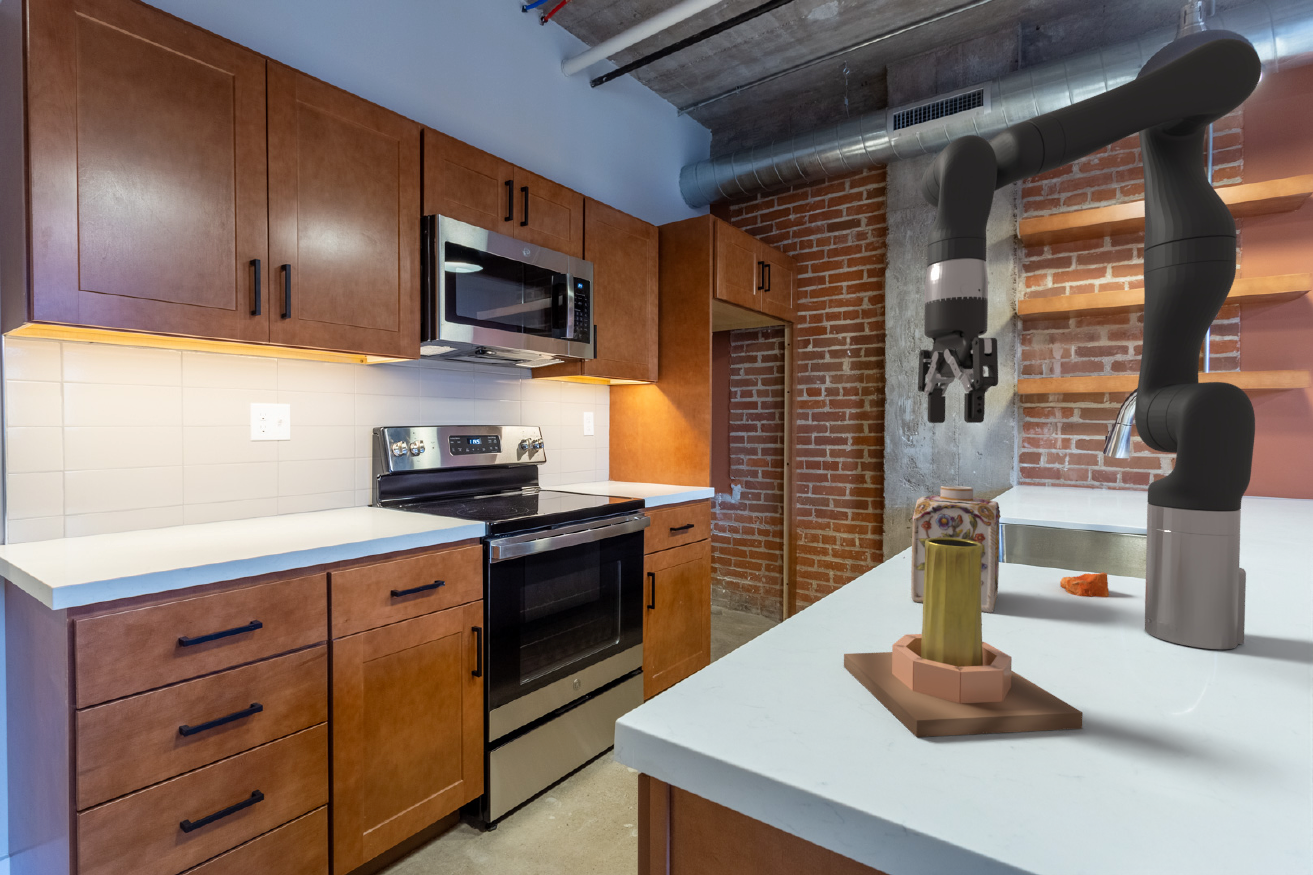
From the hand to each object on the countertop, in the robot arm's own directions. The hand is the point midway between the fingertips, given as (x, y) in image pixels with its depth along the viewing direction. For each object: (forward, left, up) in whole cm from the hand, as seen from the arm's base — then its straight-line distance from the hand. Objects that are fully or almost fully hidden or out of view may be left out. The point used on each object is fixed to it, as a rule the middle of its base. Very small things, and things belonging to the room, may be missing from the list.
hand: (954, 422), depth 82 cm
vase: (+11, +18, -27) cm, 34 cm away
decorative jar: (-10, -15, -28) cm, 34 cm away
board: (+11, +18, -28) cm, 35 cm away
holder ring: (+11, +18, -26) cm, 34 cm away
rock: (-34, -17, -29) cm, 48 cm away
